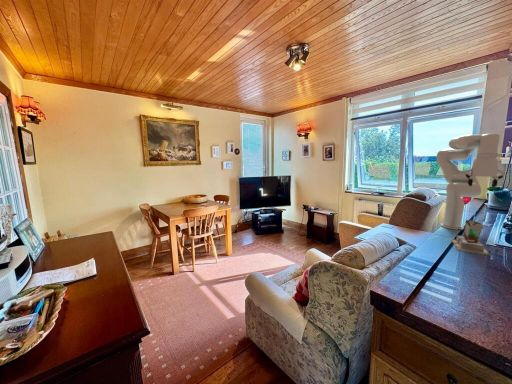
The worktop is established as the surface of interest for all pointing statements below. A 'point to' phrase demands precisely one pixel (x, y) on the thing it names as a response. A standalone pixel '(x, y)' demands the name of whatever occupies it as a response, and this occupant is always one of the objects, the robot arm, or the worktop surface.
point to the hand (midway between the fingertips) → (481, 186)
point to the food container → (472, 231)
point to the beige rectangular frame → (469, 246)
